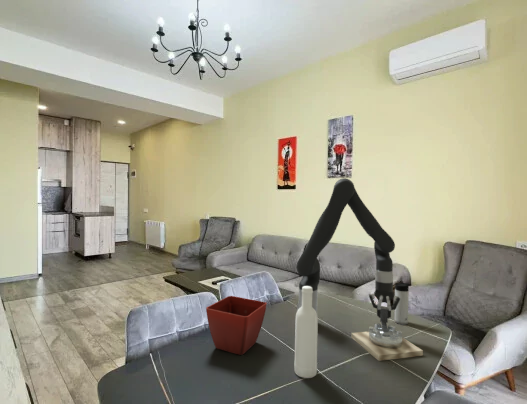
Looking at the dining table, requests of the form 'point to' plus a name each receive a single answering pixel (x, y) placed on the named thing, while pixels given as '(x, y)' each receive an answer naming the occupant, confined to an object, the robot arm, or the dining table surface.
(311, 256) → the robot arm
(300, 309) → the bottle
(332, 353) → the dining table surface
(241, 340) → the plant pot
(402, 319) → the travel mug
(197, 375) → the dining table surface
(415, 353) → the base plate
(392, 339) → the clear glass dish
